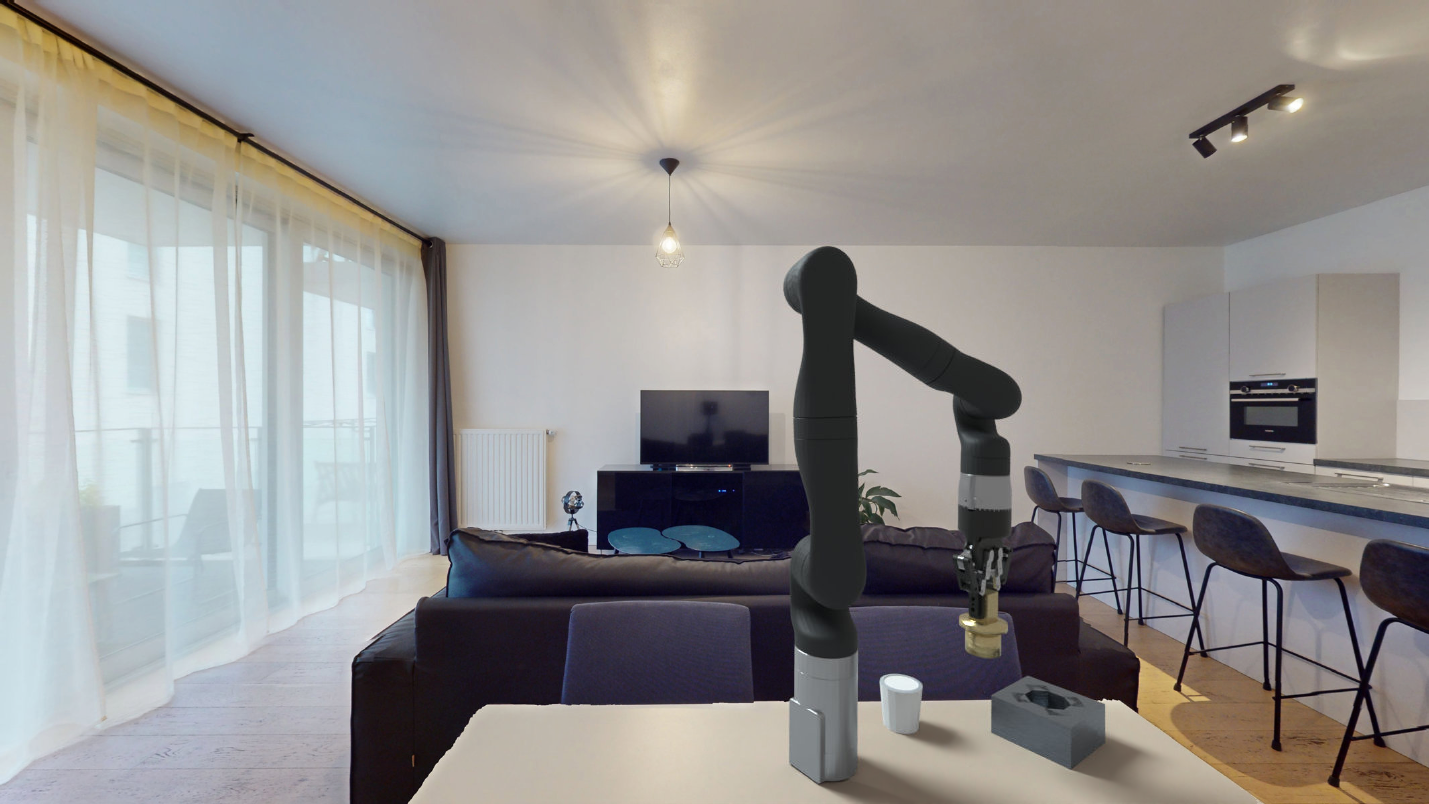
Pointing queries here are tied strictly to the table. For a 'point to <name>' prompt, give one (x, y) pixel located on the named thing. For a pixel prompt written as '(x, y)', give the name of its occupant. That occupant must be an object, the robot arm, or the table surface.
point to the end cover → (984, 629)
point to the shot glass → (901, 702)
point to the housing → (1048, 720)
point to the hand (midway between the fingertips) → (982, 615)
